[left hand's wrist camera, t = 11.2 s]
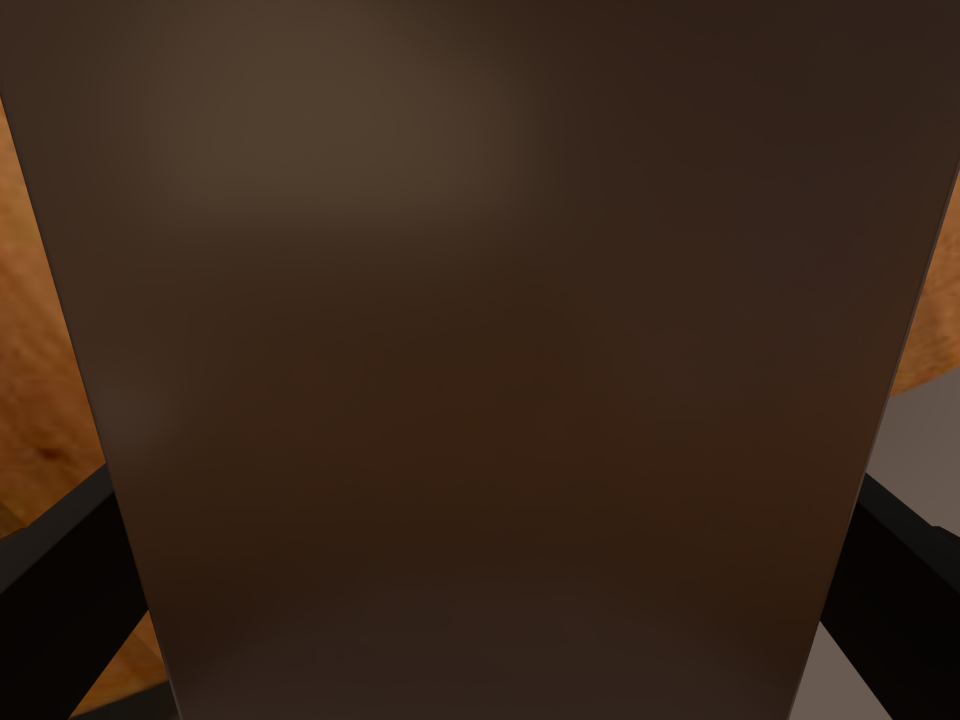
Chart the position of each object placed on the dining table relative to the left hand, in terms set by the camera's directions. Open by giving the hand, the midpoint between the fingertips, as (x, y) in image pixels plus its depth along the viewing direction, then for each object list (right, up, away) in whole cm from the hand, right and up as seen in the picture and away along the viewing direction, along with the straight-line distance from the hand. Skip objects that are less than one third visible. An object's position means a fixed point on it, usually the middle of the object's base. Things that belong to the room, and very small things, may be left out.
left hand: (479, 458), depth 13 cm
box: (0, +8, +1) cm, 8 cm away
